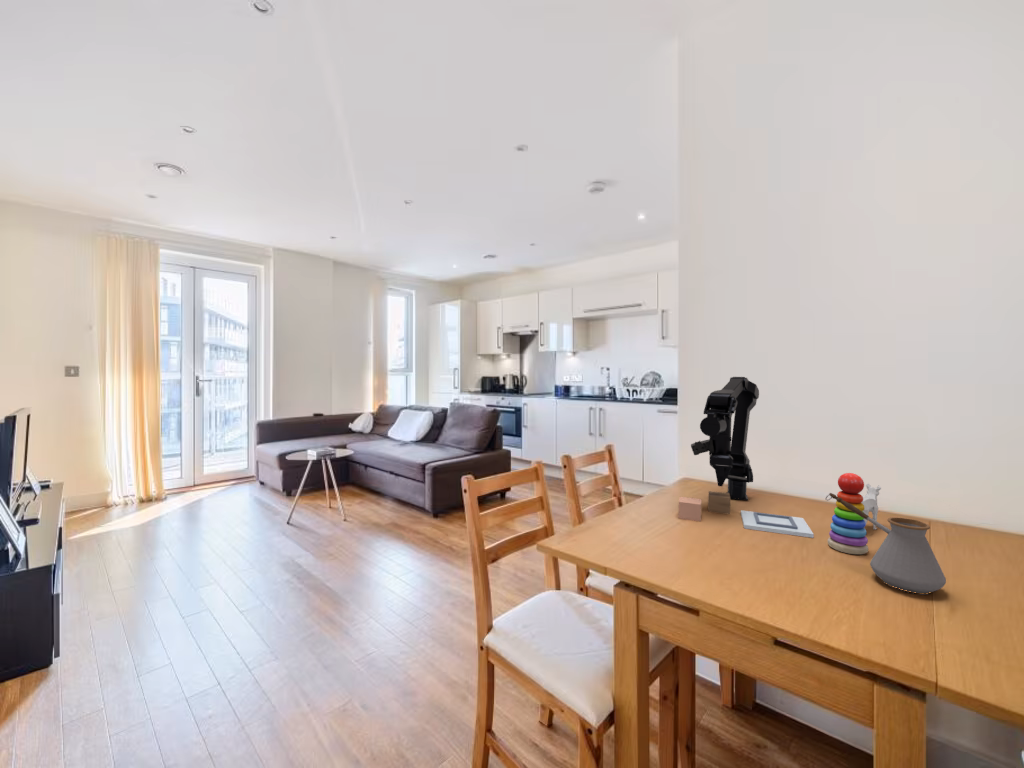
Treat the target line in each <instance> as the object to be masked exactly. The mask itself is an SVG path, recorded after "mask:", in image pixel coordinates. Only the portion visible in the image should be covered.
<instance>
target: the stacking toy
mask: <svg viewBox="0 0 1024 768" xmlns="http://www.w3.org/2000/svg"><path fill="white" fill-rule="evenodd" d="M837 486H838V487H839V489H840V491H838V492H837V494H836V496H837V497H838V498H842V500H844V501H846V502H848V503H850V504H852V505H853V506H855V507H856V508H858V509H859V510H860V511H862V512H863V510H864V508H865V507H864V505H863V504H862V503H861V502H862V501H863V497H862V496H863V495H861V492H863V490H864V487H865V482H864V480H863V478H862V477H861V476H860V475H859V474H856V473H852V472H846V473H843V474H841V475H840V476H839V477H838V480H837ZM835 506H836V507H835V508H834V510H833V511H834V512H833V513H834V514H833V515H832V517H831V520H832V522H831V523H830V531H829V537H828V538H827V545H829V547H830V548H831V549H834V550H836V551H838V552H841V553H846V554H849V555H865V554H867V553H868V552H869V547H868V545H867V544H868V542H869V541H868V538H867V532H868V531H867V530H866V528H865V527H866V526H867V524H866V523H865V521H864V520H863V519H864V518H863V517H861V516H859V515H858V514H856V513H854V512H853V511H851V510H849V509H848V508H846V507H845V506H844V505H843V504H842V503H839V502H837V500H836V501H835ZM863 513H864V512H863Z"/></svg>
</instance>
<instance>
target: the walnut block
mask: <svg viewBox="0 0 1024 768" xmlns="http://www.w3.org/2000/svg"><path fill="white" fill-rule="evenodd" d="M707 498H708V499H707V501H708V502H707V509H708V512H709V513H717V514H727V515H731V499H730V494H729V493H726V492H720V491H713V490H712V491H711V490H708V496H707Z"/></svg>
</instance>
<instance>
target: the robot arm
mask: <svg viewBox="0 0 1024 768" xmlns="http://www.w3.org/2000/svg"><path fill="white" fill-rule="evenodd" d="M759 397H760V390H759V388H758V385H757V384H756V383H754V382H752V381H750V380H749V378H748V377H745V376H731V377H730V378H729V381H728V382H727V383H726V384H725V385H724V386H723V387H722V388H721V389H718V390H714V391H712V392H710V394H709V395H708V396H707V399H706V402H705V404H704V405H705V406H704V410H703V415H706V417H704V418H703V419H702V420H701V422H700V424H699V429H700V431H701V432H702V434H704V435H705V436H707V437H709V438H708V439H704V440H702V441H701V440H699V441H695V442H693V443H691V444H690V448H691V451H692V453H693V455H694V456H697V455H700V454H703V453H707V452H709V453H708V454H709V455H708V456H709V466H710V467H712V468H713V469H714V471H715V472H714V473H715V476H716V482H717V486H718V487H723V485H724V483H725V481H726V480H727V492H725V493H729V494H730V500H740V501H749V497H748V494H747V487H748V486H747V485H748V484H749V483H753V482H754V472H753V469H752V466H751V463H750V462H751V460H750V458H749V456H748V455H747V452H746V448H747V440H748V431H749V424H750V423H749V422H750V414H751V411H752V410H753V409H754V408H755V406H756V405H757V401H758V399H759ZM733 414H734V418H733V426H732V416H733ZM732 427H733V429H732Z"/></svg>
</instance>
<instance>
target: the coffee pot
mask: <svg viewBox="0 0 1024 768" xmlns="http://www.w3.org/2000/svg"><path fill="white" fill-rule="evenodd" d="M829 496H830V498H829V499H827V498H828V497H829ZM831 499H834V500H836V501H837V502H839V503H842V504H843V505H844V506H845V507H846V508H848V509H849V510H851V511H853V512H854V513H856V514H858V515H859V516H861V517H863V518H864V519H866V520H868V521H869V523H871V524H872V525H873V524H874V525H876V528H879V529H880V530H882V531H883V532H884V533H886V534H887V536H886V537H885V539H884V540H883V542H882V543H881V545H880V546H879V548H878V550H876V552H875V554H874V555H873V557H872V558H871V560H870V562H869V566H870V568H871V569H872V571H873V573H874V574H875V575H876V576H877V577H878V578H879V579H880V580H881V579H882V580H883V581H884V582H885V583H887V584H889V585H891V586H894V587H897V588H900V589H903V590H907V591H911V592H916V593H929V592H932V593H933V592H936V591H937V592H938V591H939V590H940V589H942V588H943V587H945V585H946V583H947V578H946V576H945V575H944V572H943V570H942V568H941V565H940V564H939V562H938V560H937V557H936V555H935V554H934V552H933V549H932V546H931V545H930V543H929V541H928V539H927V537H926V534H927V531H928V530H930V529H931V526H930V525H929V524H927V523H926V522H923V521H921V520H917V519H911V518H905V517H898V516H897V517H889V518H887V521H886V522H888V523H889V524H890V529H889V528H888V527H887V526H884V525H883V524H881V523H880V522H878V520H877V521H875V520H873V517H872V518H871V517H870V516H869V514H868V515H866V514H865V513H863V512H862V511H860V510H859V509H858V508H856V507H855V506H853V505H852V504H850V503H848V502H846V501H844V500H842V498H838V497H837V494H834V493H832V492H829V493H828V494H827V495H826V497H825V501H830V500H831ZM868 521H867V522H868ZM882 580H881V581H882ZM883 581H882V582H883ZM884 582H883V583H884ZM885 583H884V584H885ZM887 584H886V585H887ZM889 585H888V586H889ZM891 586H890V587H891Z"/></svg>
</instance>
